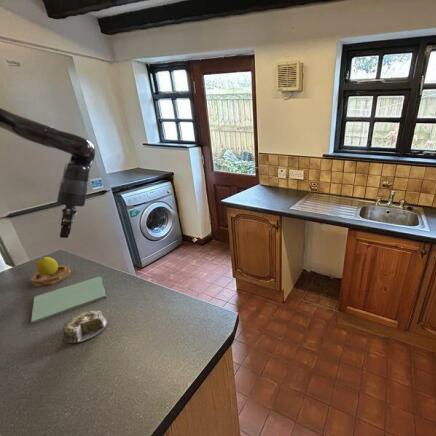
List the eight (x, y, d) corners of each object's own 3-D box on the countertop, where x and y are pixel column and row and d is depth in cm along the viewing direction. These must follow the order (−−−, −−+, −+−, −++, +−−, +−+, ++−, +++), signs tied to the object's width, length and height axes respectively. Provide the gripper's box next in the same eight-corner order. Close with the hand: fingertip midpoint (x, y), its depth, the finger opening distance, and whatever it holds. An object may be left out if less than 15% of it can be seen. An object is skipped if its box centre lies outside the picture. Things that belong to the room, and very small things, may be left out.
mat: (32, 323, 72) (31, 321, 71) (35, 298, 81) (34, 296, 81) (106, 297, 83) (105, 295, 83) (101, 277, 92) (100, 276, 92)
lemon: (46, 281, 88) (38, 262, 85) (37, 277, 90) (29, 259, 87) (64, 273, 93) (57, 255, 90) (55, 269, 95) (47, 252, 92)
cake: (56, 339, 68) (48, 324, 66) (94, 314, 76) (88, 300, 75) (78, 349, 64) (70, 333, 62) (115, 322, 73) (110, 307, 71)
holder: (30, 290, 85) (28, 286, 84) (32, 276, 92) (30, 271, 92) (71, 278, 92) (69, 274, 91) (70, 265, 99) (68, 261, 98)
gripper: (60, 189, 91) (52, 232, 91) (56, 189, 81) (47, 238, 80) (86, 193, 96) (79, 234, 96) (86, 194, 85) (77, 239, 85)
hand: (64, 235), depth 88 cm, fingers open, 8 cm apart
